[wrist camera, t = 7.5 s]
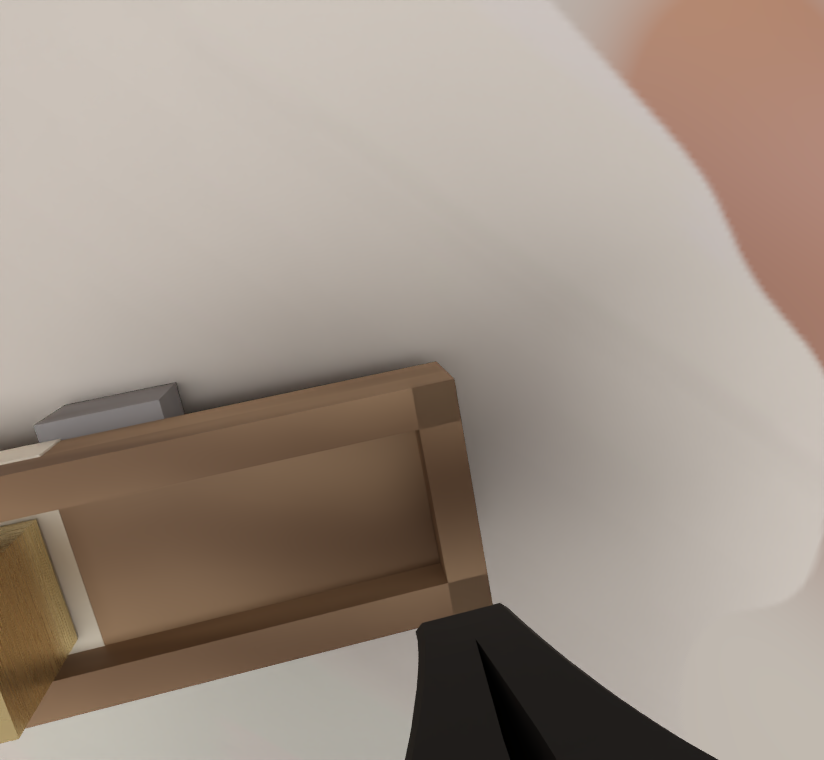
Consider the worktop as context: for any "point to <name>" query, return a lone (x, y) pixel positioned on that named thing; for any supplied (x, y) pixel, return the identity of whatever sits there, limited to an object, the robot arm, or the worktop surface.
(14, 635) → the tan wooden block
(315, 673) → the worktop surface
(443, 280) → the worktop surface
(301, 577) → the beam
